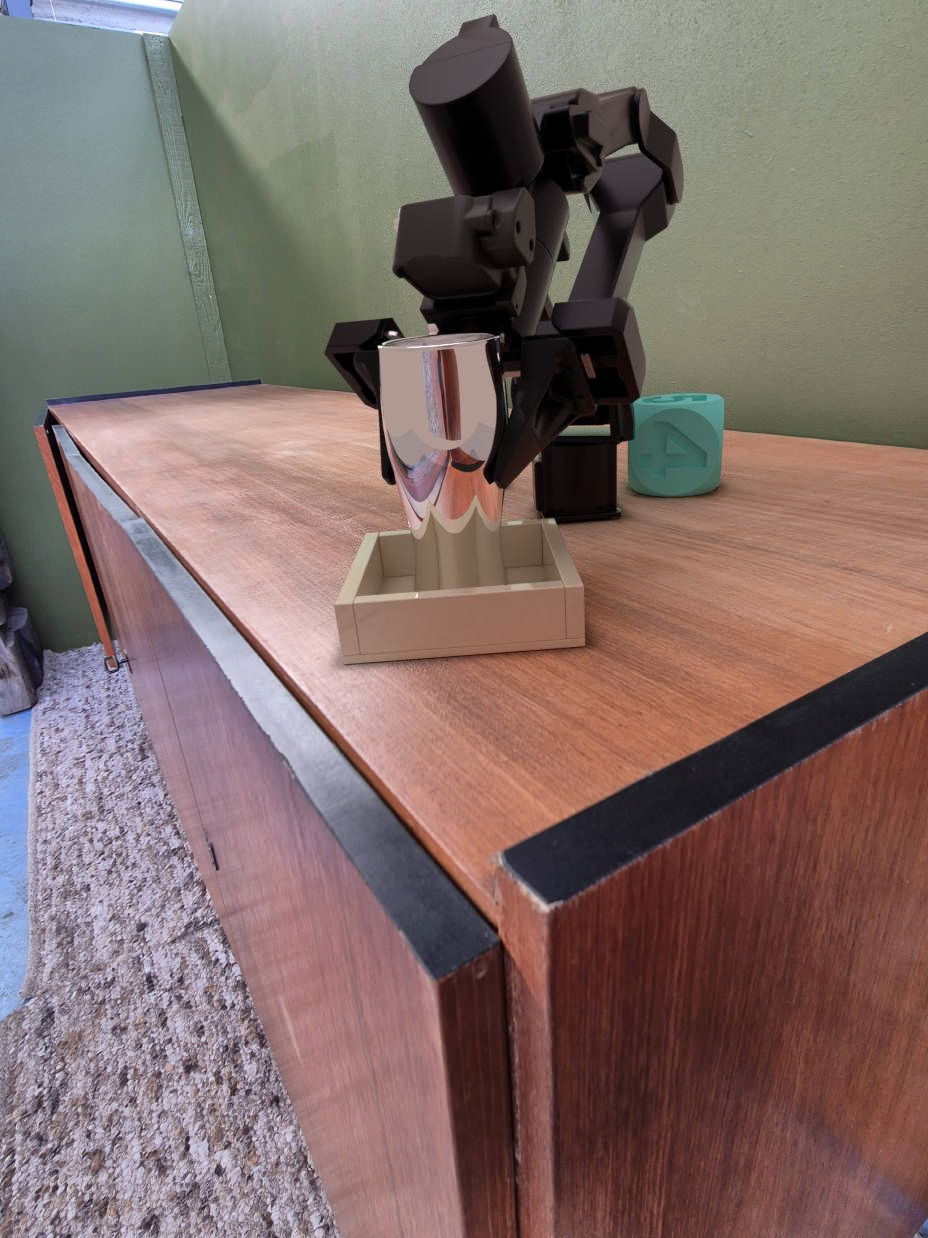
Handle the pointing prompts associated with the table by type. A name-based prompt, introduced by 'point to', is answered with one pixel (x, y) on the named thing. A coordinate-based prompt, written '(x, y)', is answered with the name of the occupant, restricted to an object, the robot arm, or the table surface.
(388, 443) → the silver metal tumbler
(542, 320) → the robot arm
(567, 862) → the table surface
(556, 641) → the tray
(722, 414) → the decorative dice
